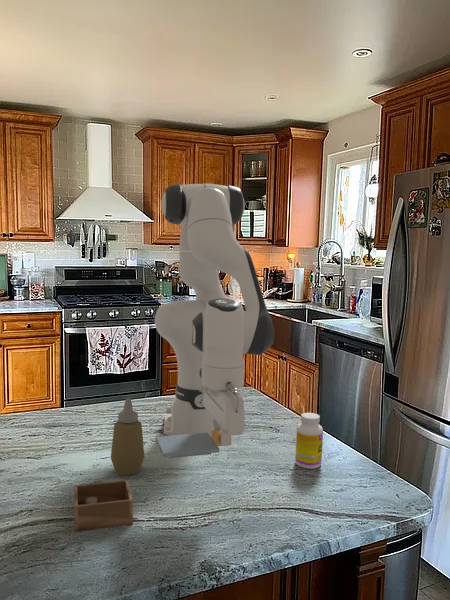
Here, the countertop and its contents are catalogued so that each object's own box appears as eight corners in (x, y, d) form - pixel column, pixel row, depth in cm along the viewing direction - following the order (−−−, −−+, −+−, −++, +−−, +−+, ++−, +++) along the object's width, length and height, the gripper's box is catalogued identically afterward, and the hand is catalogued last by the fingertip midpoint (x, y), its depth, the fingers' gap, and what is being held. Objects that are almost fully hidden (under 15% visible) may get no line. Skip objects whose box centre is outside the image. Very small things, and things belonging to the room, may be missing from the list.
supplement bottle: (320, 471, 130) (323, 421, 129) (294, 468, 132) (296, 418, 130) (321, 460, 137) (324, 412, 135) (295, 457, 138) (298, 410, 137)
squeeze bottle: (150, 467, 130) (151, 396, 128) (134, 480, 122) (135, 405, 120) (121, 461, 132) (121, 392, 130) (103, 474, 125) (104, 401, 123)
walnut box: (74, 508, 109) (74, 485, 108) (128, 502, 112) (128, 480, 111) (74, 531, 100) (74, 506, 100) (132, 524, 103) (133, 500, 103)
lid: (155, 443, 112) (156, 429, 112) (222, 438, 116) (223, 424, 116) (163, 461, 103) (163, 445, 103) (235, 454, 108) (235, 439, 107)
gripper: (253, 389, 101) (251, 459, 102) (224, 365, 120) (222, 424, 122) (222, 391, 99) (220, 462, 101) (197, 366, 119) (196, 426, 120)
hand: (221, 440), depth 111 cm, fingers closed on lid, 3 cm apart
